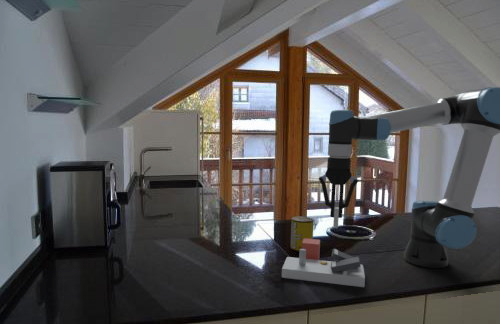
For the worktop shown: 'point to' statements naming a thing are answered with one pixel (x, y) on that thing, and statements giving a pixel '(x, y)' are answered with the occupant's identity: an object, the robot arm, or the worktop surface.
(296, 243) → the beverage can
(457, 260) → the worktop surface
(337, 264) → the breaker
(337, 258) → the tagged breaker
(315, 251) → the red rectangular block
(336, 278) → the panel
